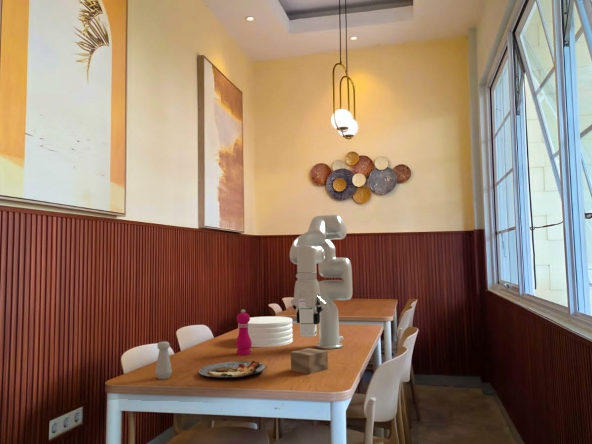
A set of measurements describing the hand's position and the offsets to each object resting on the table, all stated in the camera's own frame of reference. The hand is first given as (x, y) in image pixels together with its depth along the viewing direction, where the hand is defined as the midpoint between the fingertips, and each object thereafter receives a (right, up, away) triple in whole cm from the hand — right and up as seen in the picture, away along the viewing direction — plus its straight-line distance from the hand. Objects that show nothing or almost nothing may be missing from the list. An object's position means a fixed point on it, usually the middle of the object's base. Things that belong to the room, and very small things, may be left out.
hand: (308, 322), depth 179 cm
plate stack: (-20, -23, +61) cm, 68 cm away
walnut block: (0, -18, -1) cm, 18 cm away
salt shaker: (-54, -19, -9) cm, 57 cm away
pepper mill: (-28, -21, +31) cm, 47 cm away
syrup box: (0, -5, 0) cm, 5 cm away
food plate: (-28, -19, -4) cm, 34 cm away
